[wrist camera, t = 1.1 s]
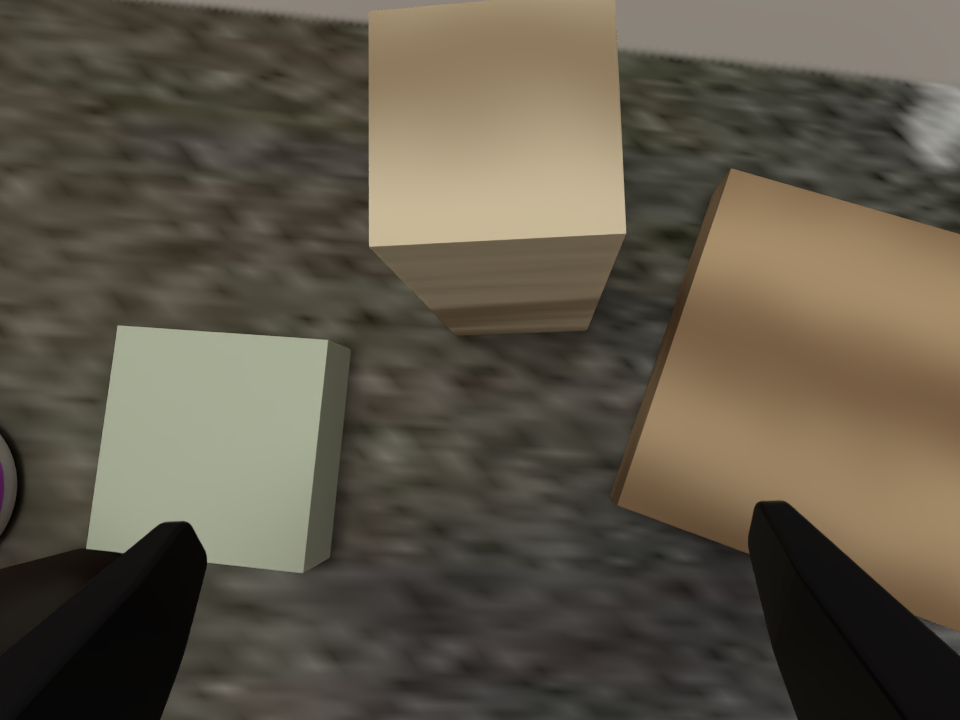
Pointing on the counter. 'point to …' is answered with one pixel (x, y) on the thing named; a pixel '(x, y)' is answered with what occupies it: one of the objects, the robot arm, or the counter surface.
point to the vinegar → (43, 588)
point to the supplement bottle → (6, 484)
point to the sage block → (223, 444)
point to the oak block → (812, 387)
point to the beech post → (497, 159)
